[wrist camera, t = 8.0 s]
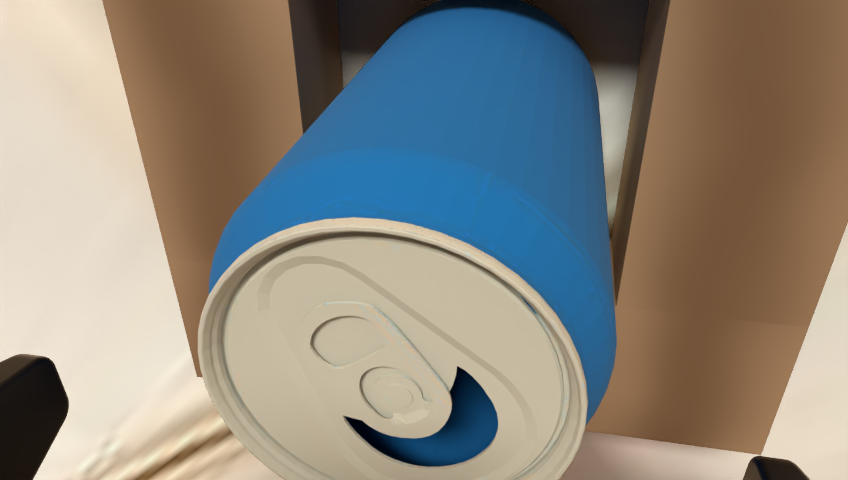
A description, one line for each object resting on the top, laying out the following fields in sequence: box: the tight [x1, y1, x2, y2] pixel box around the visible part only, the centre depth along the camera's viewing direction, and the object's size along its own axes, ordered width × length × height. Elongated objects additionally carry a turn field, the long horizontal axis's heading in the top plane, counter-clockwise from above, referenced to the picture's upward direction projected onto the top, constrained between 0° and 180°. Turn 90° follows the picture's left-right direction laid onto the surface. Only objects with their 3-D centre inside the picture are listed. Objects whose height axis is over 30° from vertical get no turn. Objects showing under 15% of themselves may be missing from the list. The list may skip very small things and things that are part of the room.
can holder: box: [102, 0, 848, 455], centre depth 18 cm, size 18×18×4 cm
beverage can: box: [198, 0, 617, 480], centre depth 14 cm, size 6×6×12 cm
